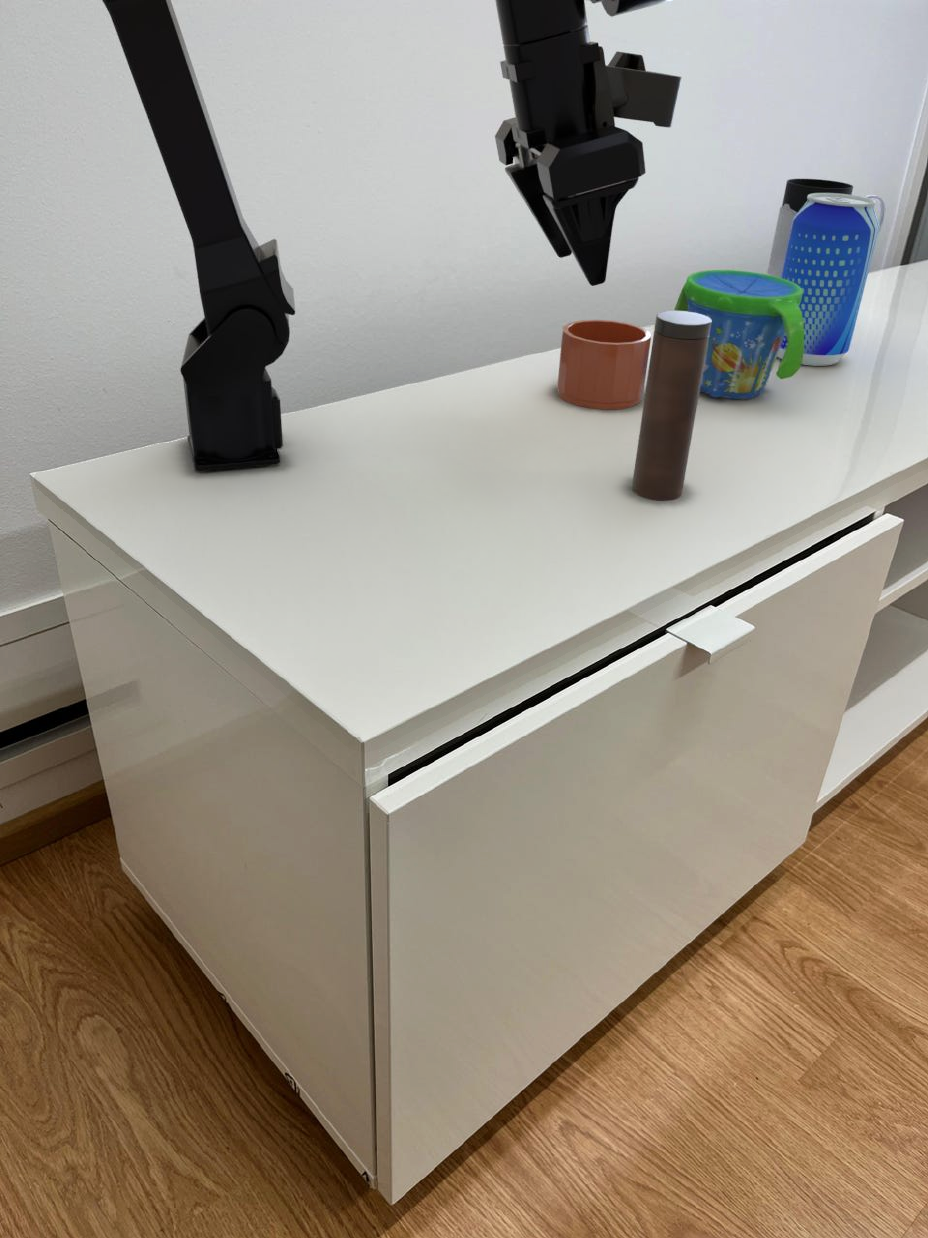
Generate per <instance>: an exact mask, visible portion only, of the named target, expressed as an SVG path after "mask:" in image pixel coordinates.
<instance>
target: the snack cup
mask: <svg viewBox="0 0 928 1238" xmlns="http://www.w3.org/2000/svg"><path fill="white" fill-rule="evenodd" d="M802 294H803V290H802V289H801V287H800V286H798V285H797V284H795V283H793V282H791V281H788V280H786V279H783V278H779V277H775V276H771V275H767V273H760V272H755V271H745V270H735V269H710V270H700V271H696V272H693V273H691V274H689V275H688V276H687V278H686V281H685V283H684V285H683V287H682V289H681V291H680V294H679V296H678V298H677V301H676V304H675V307H674V310H673V311H688V312H694V313H699V314H702V315H705V316H707V317H709V318H710V319H711V320H712V323H711V329H710V334H709V340H708V346H707V352H706V358H705V364H704V369H703V375H702V381H701V387H700V392H699V393H706V394H708V396H709V395H710V396H711V397H713V398H715V399H717V398H724V399H729V400H745V399H746V400H750V399H752V398H755V397H756V396H759V395H760V393H762V392H763V391H764V389H765V388H766V385H767V383H768V381H769V378H770V375H771V372H772V371H773V368H774V365H775V363H776V360H777V358H778V357H777V355H778V352H779V350H780V346H781V343H782V340H783V338H784V336H785V333H786V337H787V342H788V345H787V348H786V350H785V353H784V356H783V358H782V359H780V364H779V365H778V369H777V371H776V373H775V375H776V377H777V378H778V379H780V380H785V379H789V378H792V377H793V376H795V374H796V373H798V372H799V370H800V368H801V366H802V359H803V352H804V322H803V318H802V313H801V310H800V308H799V304H800V302H801V298H802Z"/></svg>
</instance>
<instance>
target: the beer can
mask: <svg viewBox="0 0 928 1238" xmlns="http://www.w3.org/2000/svg"><path fill="white" fill-rule="evenodd" d="M807 199H808V200H807V202H806V203H805V204H804V206H803V207H802V208H801V209H800V210H799V212H798V213H797V214H796V215H795V217H794V219H793V223H792V228H791V232H790V237H789V242H788V247H787V252H786V257H785V261H784V266H783V271H782V276H781V278H783V279H786V280H788V281H791V282H793V283H795V284H797V285H798V286H800V287H801V289H802V290H803V294H802V298H801V302H800V304H799V308H800V310H801V313H802V318H803V322H804V352H803V359H802V364H801V366H802V365H803V366H811V367H822V366H823V367H824V366H832V365H835V364H837V363H839V361H840V359H842V357H843V356H845V355H846V354H847V353H848V352H849V351H850V347H851V343H852V339H853V336H854V330H855V327H856V324H857V320H858V316H859V311H860V307H861V302H862V300H863V295H864V292H865V287H866V284H867V279H868V275H869V271H870V268H871V263H872V259H873V256H874V251H875V248H876V244H877V239H878V237H879V235H878V232H879V222H878V220H879V218H878V217H877V213H876V209H875V205H876V204H877V201H876V199H874V198H866V197H864V196H861V195H854V194H852V195H848V194H837V193H813V194H809V195H808V196H807ZM877 236H878V237H877ZM787 345H788V342H787V337H786V333H785V336H784V338H783V340H782V343H781V346H780V350H779V352H778V355H777V358H778V359H780V360H782V358H783V356H784V353H785V350H786V348H787Z"/></svg>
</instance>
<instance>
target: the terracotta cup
mask: <svg viewBox="0 0 928 1238" xmlns="http://www.w3.org/2000/svg"><path fill="white" fill-rule="evenodd" d="M561 331H562V332H561V342H560V354H559V362H558V363H559V364H558V374H557V386H556V393H557V395H558V396H559V398H560V399H562V400H564V401H565V402H567V403H570V404H573V405H576V406H578V407H584V408H589V409H596V410H621V409H627V408H632V407H634V406H637V405H638V404H640V402H642V399H643V395H644V390H645V385H646V384H645V383H646V376H647V369H648V363H649V357H650V356H649V354H650V349H651V341H652V335H651V332H650V331H649V330H647V329H645V328H643V327H642V326H640V325H636V324H633V323H629V322H625V321H617V320H612V319H611V320H609V319H584V320H583V319H582V320H580V319H579V320H576V321H571V322H568V323H567V324H565V325H563V326H562V330H561Z"/></svg>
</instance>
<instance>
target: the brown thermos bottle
mask: <svg viewBox="0 0 928 1238" xmlns="http://www.w3.org/2000/svg"><path fill="white" fill-rule="evenodd" d="M711 323H712V320H711V319H710V318H709V317H707V316H705V315H702V314H699V313H694V312H688V311H674V310H666V311H661V312H658V313H656V316H655V323H654V329H653V337H652V342H651V343H652V344H651V348H650V349H651V350H650V356H649V357H650V358H649V362H648V363H649V364H648V371H647V378H646V384H645V393H644V399H643V406H642V414H641V419H640V427H639V434H638V440H637V441H638V442H637V447H636V454H635V455H636V456H635V462H634V470H633V477H632V483H631V489H632V492H634V493H635V494H636V495H638V496H640V497H642V498H645V499H649V500H654V501H672V500H677V499H678V498H680V497H681V496H682V495H683V490H684V484H685V478H686V473H687V467H688V462H689V455H690V450H691V444H692V438H693V433H694V428H695V427H694V426H695V420H696V416H697V415H696V414H697V410H698V409H697V408H698V403H699V397H700V393H701V392H700V387H701V381H702V375H703V369H704V364H705V358H706V352H707V346H708V340H709V334H710V329H711Z"/></svg>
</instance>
